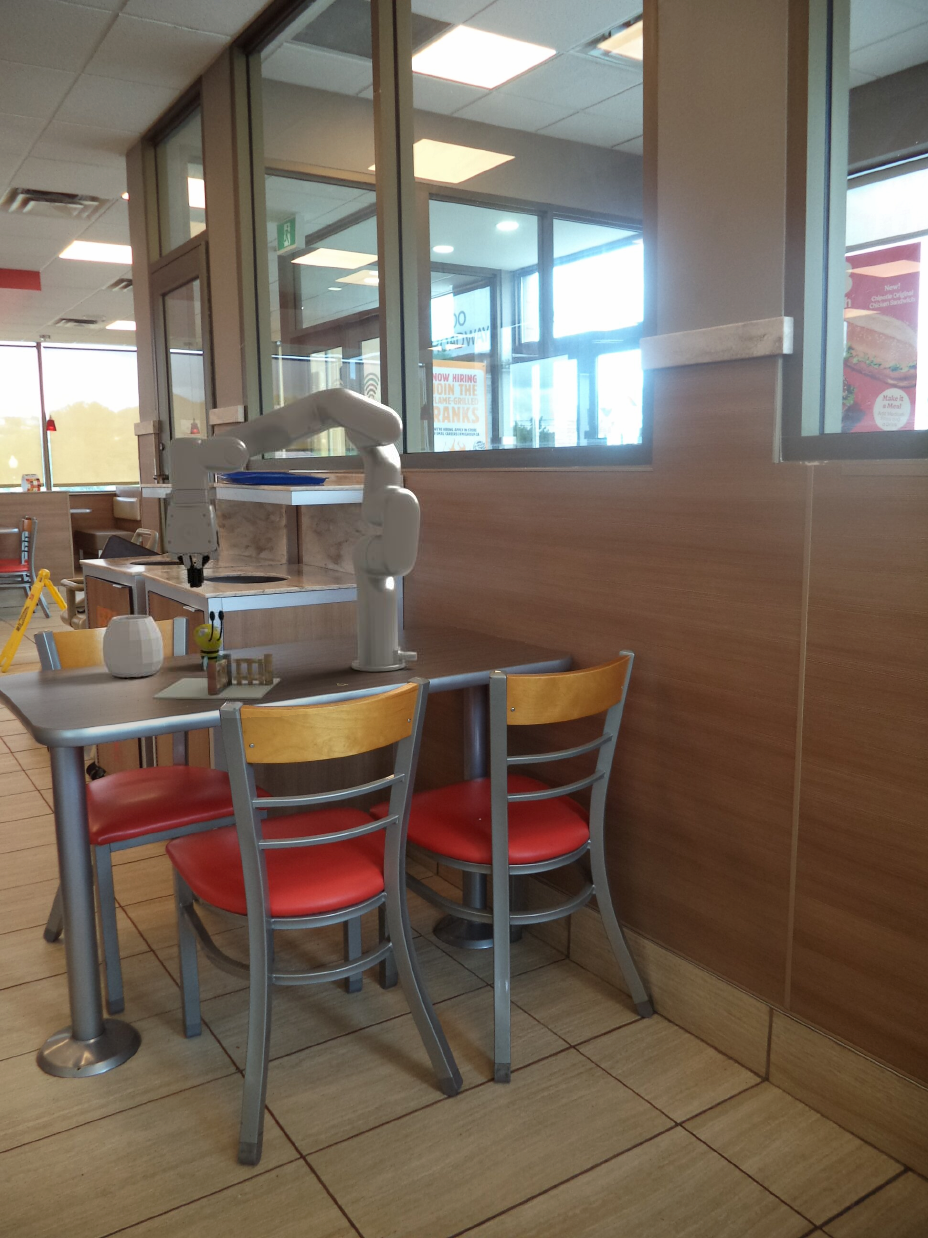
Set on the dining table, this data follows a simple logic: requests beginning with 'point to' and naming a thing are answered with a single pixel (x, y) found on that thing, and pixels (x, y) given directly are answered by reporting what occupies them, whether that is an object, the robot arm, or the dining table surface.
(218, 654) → the toy
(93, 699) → the dining table surface
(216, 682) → the fence wing
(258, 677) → the fence fixed
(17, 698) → the dining table surface
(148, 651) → the white faceted vase
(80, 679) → the dining table surface
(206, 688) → the card
